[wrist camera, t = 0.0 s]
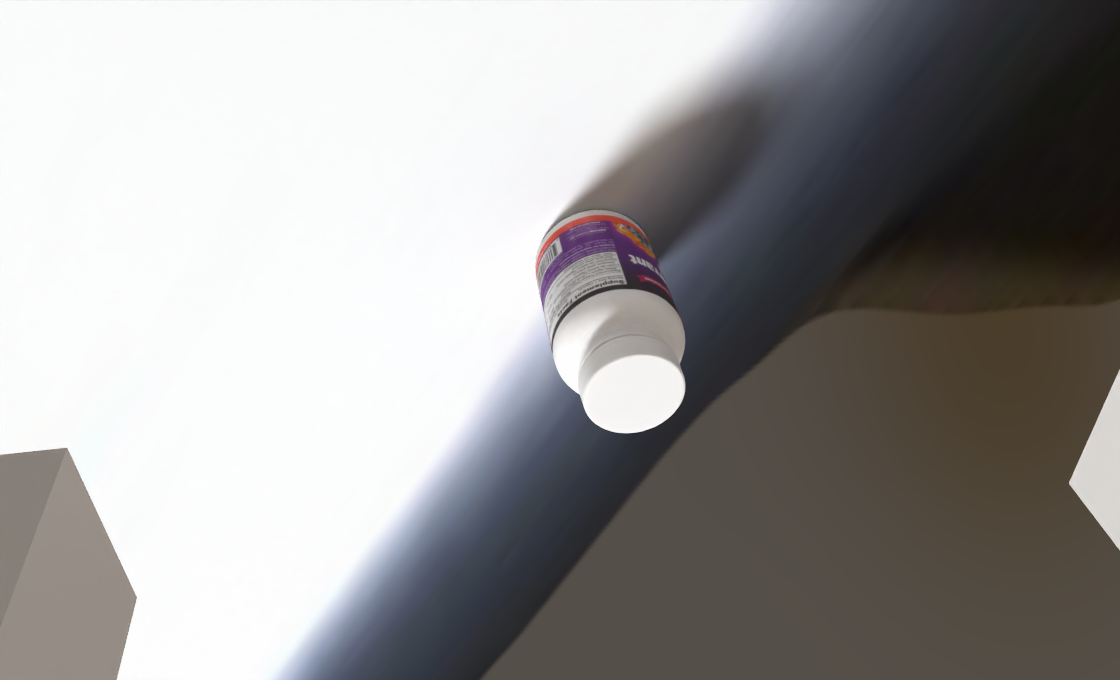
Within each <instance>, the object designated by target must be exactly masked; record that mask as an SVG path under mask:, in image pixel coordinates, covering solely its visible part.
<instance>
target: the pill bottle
mask: <svg viewBox="0 0 1120 680" xmlns="http://www.w3.org/2000/svg"><path fill="white" fill-rule="evenodd" d="M535 268H536V277H537V283H538V288H539V293H540V297H541V301H542V306H543V311H544V315H545V320H546V325H547V330H548V335H549V339H550V344H551V349H552V353H553V357H554V361H555V364H556V367H557V370H558V372H559V374H560V375H561V377H562V379H563V380H564V381H565V382H566V383H567V385H568V386H569V387H571V388H572V389H573V390H574V391H575V392H577V393H578V394H580V396H581V399H582V402H583V405H584V409H585V411H586V413H587V415H588V416H589V418H590V419H591V420H592V421H593V422H594V423H595V424H597V425H598V426H600V427H602V428H604V429H606V430H609V431H612V432H618V433H635V432H640V431H644V430H647V429H650V428H653V427H655V426H657V425H659V424H661V423H662V422H664V421H665V420H667V419H668V418H669V417H670V416H671V415H672V414H673V413H674V412H675V411H676V410H677V408H678V407H679V405H680V404H681V402H682V399H683V397H684V393H685V380H684V376H683V373H682V370H681V367H680V362H681V359H682V356H683V353H684V347H685V333H684V328H683V324H682V321H681V318H680V316H679V313H678V311H677V308H676V306H675V304H674V301H673V299H672V296H671V294H670V291H669V289H668V287H667V284H666V282H665V279H664V277H663V274H662V272H661V269H660V267H659V264H658V262H657V259H656V257H655V255H654V252H653V250H652V247H651V245H650V243H649V241H648V239H647V237H646V235H645V234H644V232H643V231H642V229H641V228H640V227H639V226H638V225H637V224H636V223H635V222H634V221H632V220H631V219H629V218H628V217H626V216H624V215H622V214H619V213H617V212H613V211H608V210H589V211H584V212H580V213H577V214H574V215H572V216H569V217H567V218H566V219H564V220H562V221H561V222H559V223H558V224H557V225H555V226H554V227H553V228H552V229H551V230H550V231H549V232H548V233H547V235H546V236H545V237H544V239H543V241H542V242H541V244H540V246H539V249H538V251H537V255H536V263H535Z"/></svg>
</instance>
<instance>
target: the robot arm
mask: <svg viewBox="0 0 1120 680" xmlns="http://www.w3.org/2000/svg"><path fill="white" fill-rule="evenodd" d="M1069 484H1070V485H1071V487H1072V488H1073V489H1074V490H1075V492H1076V493H1077V494H1078V496H1079V497H1080V498H1081V500H1082V501H1083V502H1084V504H1085V505H1086V506H1087V508H1088V509H1089V510H1090V512H1091V513H1092V514H1093V516H1094V517H1095V518H1096V519H1097V521H1098V522H1099V523H1100V525H1101V526H1102V527H1103V529H1104V530H1105V531H1106V533H1107V534H1108V535H1109V536H1110V538H1111V539H1112V540H1113V542H1114V543H1115V544H1116V546H1117V547H1118V548H1119V550H1120V370H1119V372H1118V375H1117V377H1116V379H1115V381H1114V384H1113V386H1112V388H1111V390H1110V392H1109V395H1108V397H1107V399H1106V401H1105V404H1104V406H1103V408H1102V411H1101V413H1100V415H1099V417H1098V419H1097V422H1096V424H1095V426H1094V428H1093V431H1092V433H1091V435H1090V437H1089V440H1088V442H1087V444H1086V446H1085V449H1084V451H1083V453H1082V455H1081V457H1080V460H1079V462H1078V464H1077V466H1076V469H1075V471H1074V473H1073V476H1072V478H1071V480H1070V482H1069ZM136 599H137V597H136V595H135V593H134V591H133V588H132V586H131V584H130V582H129V580H128V578H127V576H126V573H125V571H124V569H123V567H122V565H121V563H120V560H119V558H118V556H117V554H116V552H115V550H114V548H113V545H112V543H111V541H110V539H109V537H108V535H107V533H106V530H105V528H104V526H103V524H102V522H101V520H100V518H99V515H98V513H97V511H96V509H95V507H94V505H93V502H92V500H91V498H90V496H89V494H88V492H87V490H86V487H85V485H84V483H83V481H82V479H81V477H80V475H79V472H78V470H77V468H76V466H75V464H74V462H73V460H72V457H71V455H70V453H69V451H68V449H67V448H61V449H52V450H42V451H33V452H23V453H14V454H5V455H0V680H116V679H117V675H118V671H119V667H120V663H121V659H122V655H123V651H124V647H125V643H126V639H127V635H128V631H129V627H130V623H131V619H132V615H133V611H134V607H135V603H136Z"/></svg>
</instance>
